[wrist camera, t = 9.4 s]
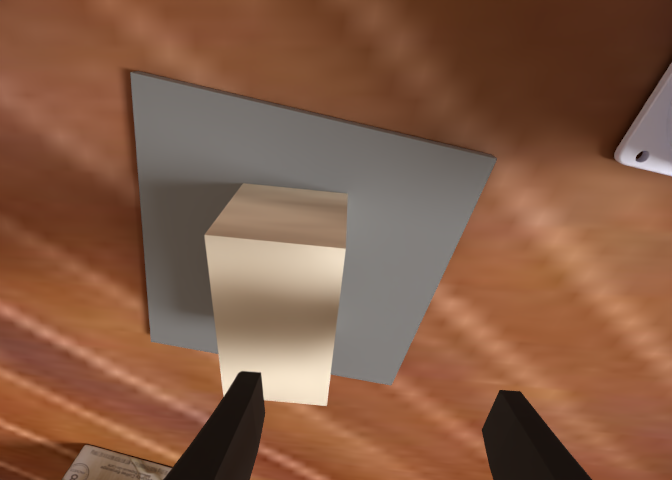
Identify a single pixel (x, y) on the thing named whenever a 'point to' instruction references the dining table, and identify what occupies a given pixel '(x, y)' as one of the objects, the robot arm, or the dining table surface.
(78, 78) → the dining table surface
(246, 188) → the pale wooden block
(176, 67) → the dining table surface
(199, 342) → the rubber mat
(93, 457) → the coffee box
